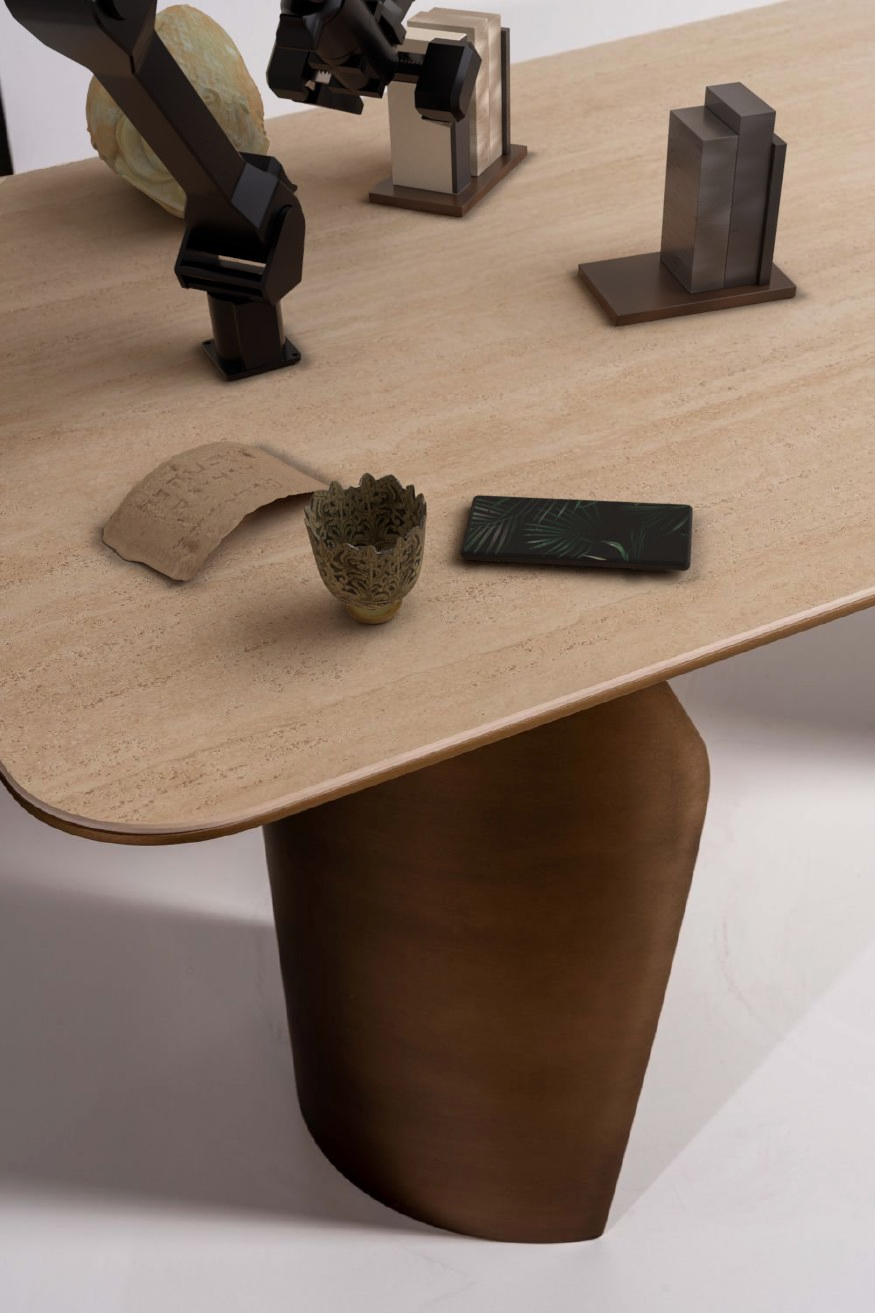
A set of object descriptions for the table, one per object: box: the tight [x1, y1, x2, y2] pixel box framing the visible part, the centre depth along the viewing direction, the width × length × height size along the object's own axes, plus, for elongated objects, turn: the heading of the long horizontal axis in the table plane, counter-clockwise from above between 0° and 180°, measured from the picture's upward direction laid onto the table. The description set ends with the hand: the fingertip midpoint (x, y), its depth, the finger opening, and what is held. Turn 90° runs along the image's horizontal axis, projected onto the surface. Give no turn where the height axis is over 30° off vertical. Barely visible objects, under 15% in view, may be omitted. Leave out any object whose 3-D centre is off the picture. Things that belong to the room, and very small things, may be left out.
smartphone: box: [459, 494, 694, 573], centre depth 95 cm, size 7×1×15 cm
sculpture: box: [85, 3, 270, 220], centre depth 136 cm, size 18×20×20 cm
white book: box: [386, 25, 471, 195], centre depth 133 cm, size 3×7×14 cm, turn 64°
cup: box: [303, 472, 428, 625], centre depth 88 cm, size 8×7×8 cm
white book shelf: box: [368, 6, 528, 218], centre depth 137 cm, size 16×10×15 cm, turn 154°
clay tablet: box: [102, 440, 330, 581], centre depth 98 cm, size 14×10×3 cm
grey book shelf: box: [577, 81, 798, 327], centre depth 117 cm, size 16×10×16 cm, turn 105°
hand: (405, 115), depth 129 cm, fingers open, 9 cm apart
